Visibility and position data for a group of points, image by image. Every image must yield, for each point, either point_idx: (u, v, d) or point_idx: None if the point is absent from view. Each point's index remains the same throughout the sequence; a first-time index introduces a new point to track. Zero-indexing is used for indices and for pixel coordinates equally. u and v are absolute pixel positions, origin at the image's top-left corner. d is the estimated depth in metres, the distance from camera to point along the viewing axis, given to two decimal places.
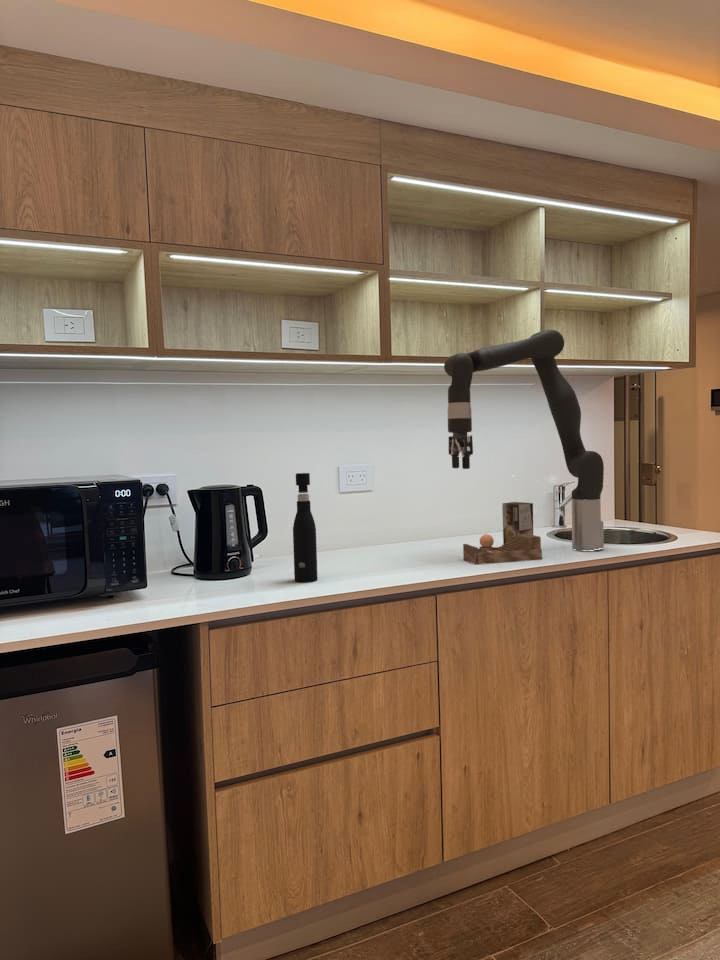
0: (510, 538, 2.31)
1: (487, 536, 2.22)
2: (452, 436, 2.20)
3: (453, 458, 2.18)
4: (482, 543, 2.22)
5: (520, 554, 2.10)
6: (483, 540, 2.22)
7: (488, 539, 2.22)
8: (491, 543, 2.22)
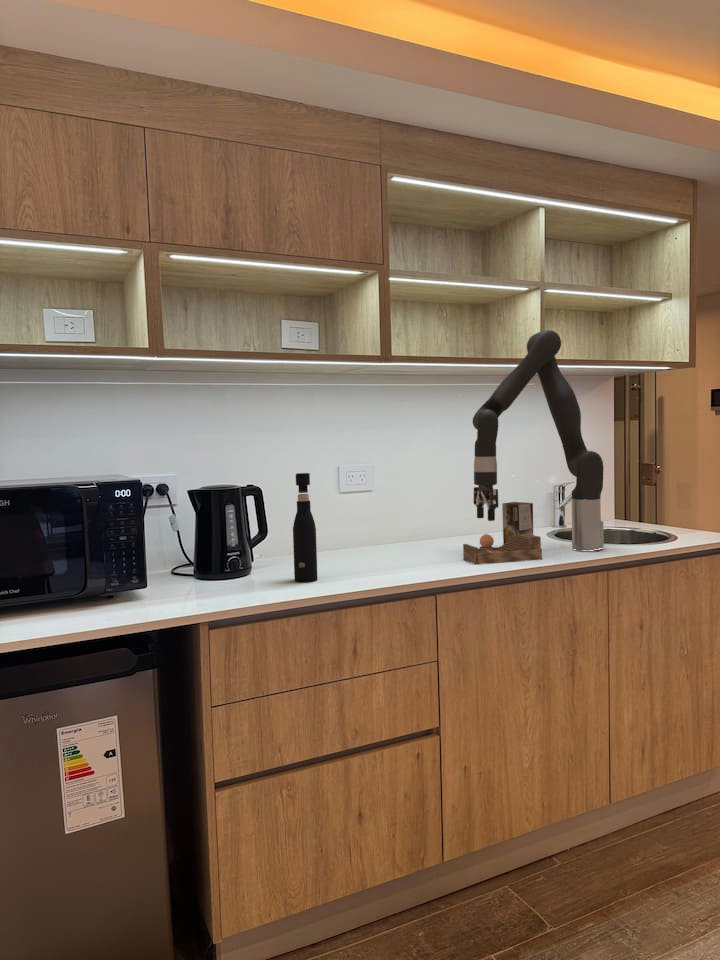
0: (510, 538, 2.31)
1: (487, 536, 2.22)
2: (477, 487, 2.28)
3: (478, 508, 2.27)
4: (482, 543, 2.22)
5: (520, 554, 2.10)
6: (483, 540, 2.22)
7: (488, 539, 2.22)
8: (491, 543, 2.22)
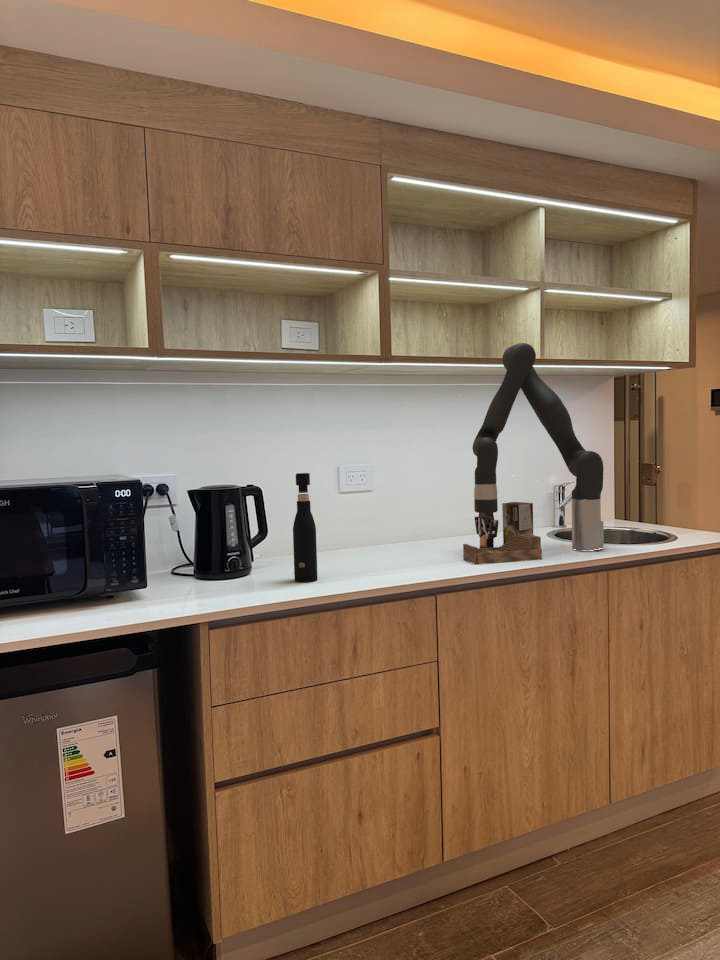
0: (510, 538, 2.31)
1: None
2: (478, 516, 2.29)
3: None
4: (482, 543, 2.22)
5: (520, 554, 2.10)
6: (483, 540, 2.22)
7: None
8: None
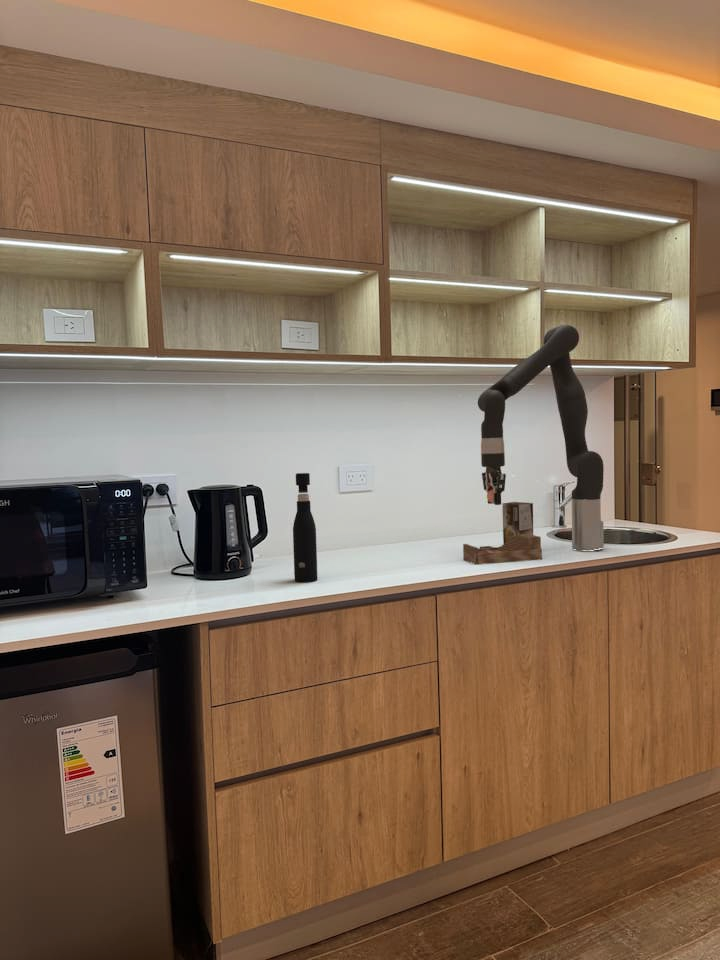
0: (510, 538, 2.31)
1: None
2: (485, 472, 2.27)
3: None
4: (489, 498, 2.20)
5: (520, 554, 2.10)
6: (490, 495, 2.19)
7: None
8: None
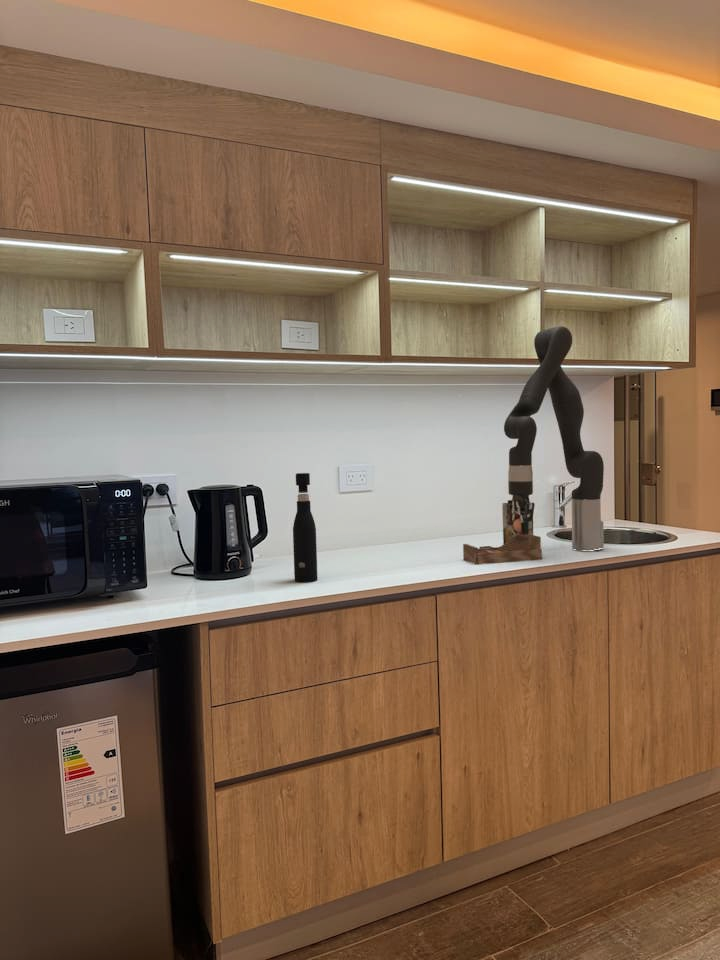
0: (510, 538, 2.31)
1: None
2: (511, 500, 2.20)
3: None
4: (516, 527, 2.13)
5: (520, 554, 2.10)
6: (517, 524, 2.13)
7: None
8: None
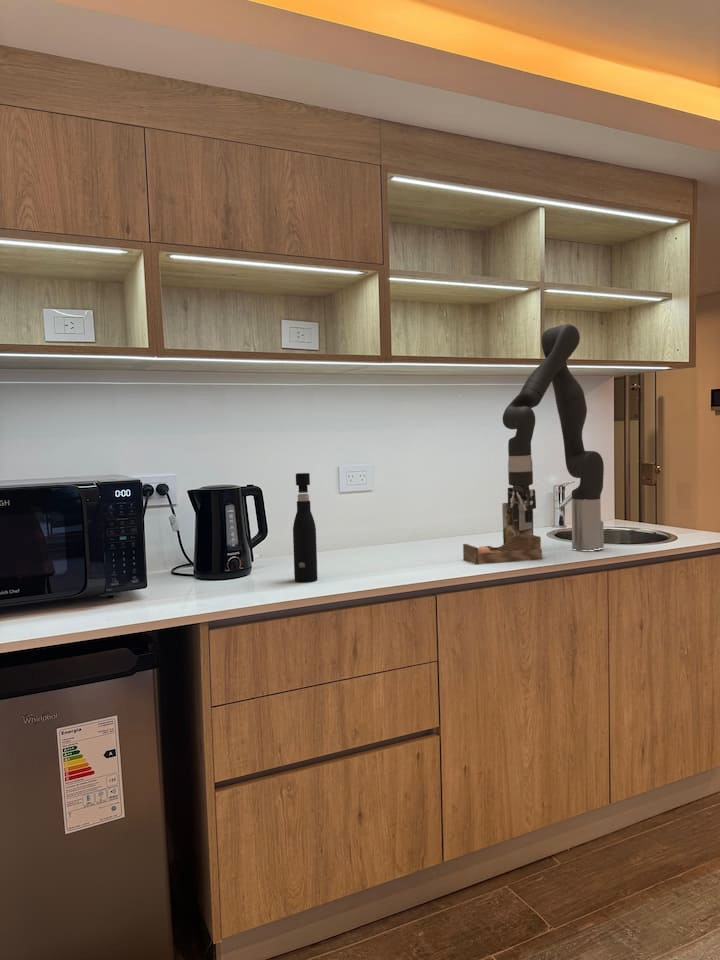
0: (510, 538, 2.31)
1: (486, 548, 2.10)
2: (511, 487, 2.19)
3: (513, 510, 2.18)
4: None
5: (520, 554, 2.10)
6: (481, 550, 2.10)
7: (486, 552, 2.10)
8: None
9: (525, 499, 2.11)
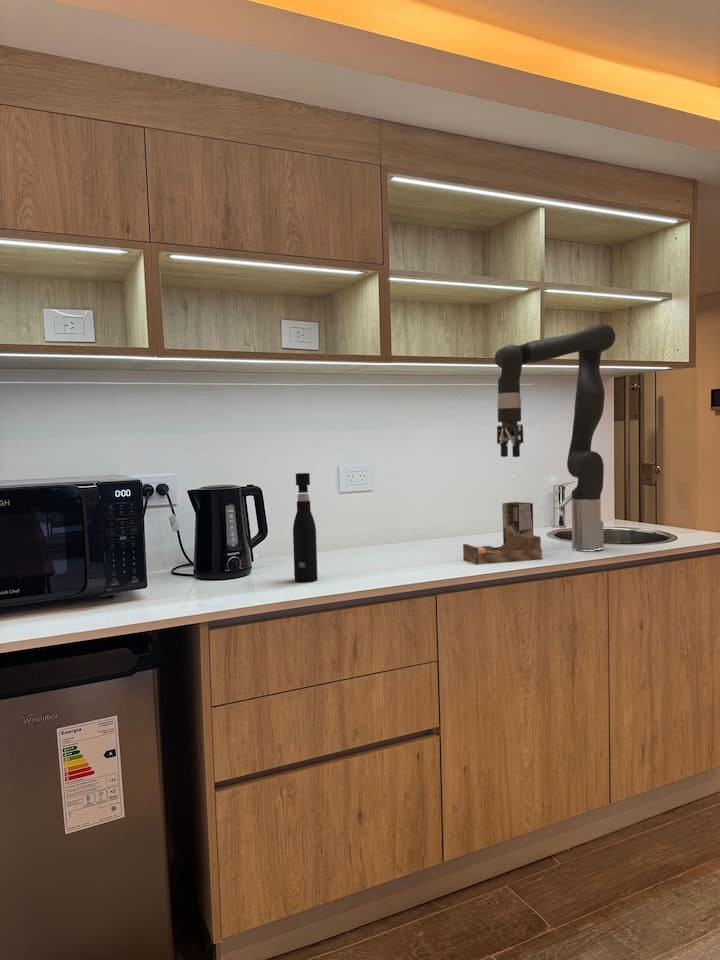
0: (510, 538, 2.31)
1: (478, 549, 2.10)
2: (501, 426, 2.27)
3: (502, 447, 2.26)
4: None
5: (520, 554, 2.10)
6: None
7: (481, 552, 2.09)
8: None
9: (513, 435, 2.19)
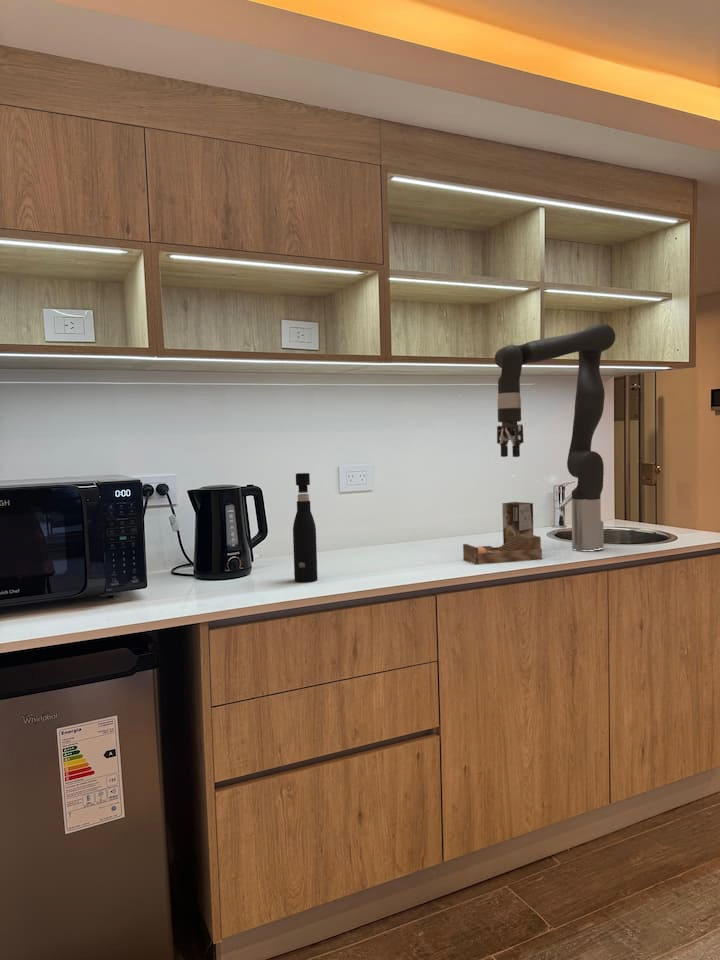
0: (510, 538, 2.31)
1: (479, 549, 2.10)
2: (501, 426, 2.27)
3: (502, 447, 2.26)
4: None
5: (520, 554, 2.10)
6: None
7: (481, 552, 2.09)
8: None
9: (513, 435, 2.19)
